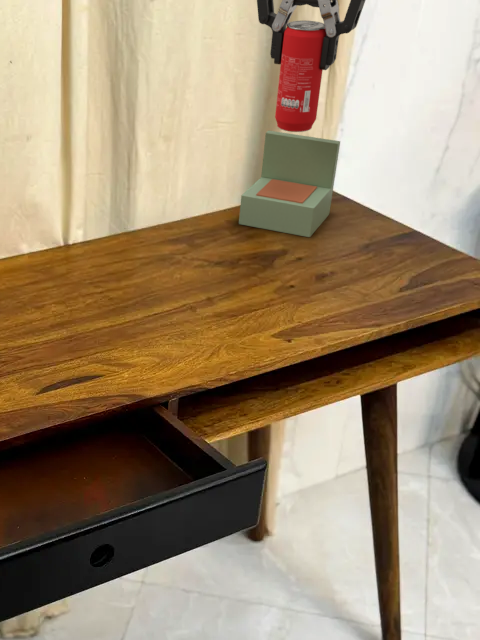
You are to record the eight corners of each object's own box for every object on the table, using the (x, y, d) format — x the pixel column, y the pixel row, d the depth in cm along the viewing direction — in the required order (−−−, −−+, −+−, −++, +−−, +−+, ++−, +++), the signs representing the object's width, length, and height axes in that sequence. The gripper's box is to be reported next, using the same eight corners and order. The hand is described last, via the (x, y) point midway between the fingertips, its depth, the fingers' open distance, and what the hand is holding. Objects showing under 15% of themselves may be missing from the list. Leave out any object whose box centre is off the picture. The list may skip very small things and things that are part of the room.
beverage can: (265, 125, 127) (276, 24, 119) (293, 118, 129) (304, 18, 122) (295, 135, 124) (308, 31, 116) (323, 127, 126) (337, 25, 119)
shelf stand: (329, 214, 136) (340, 141, 130) (309, 237, 130) (320, 161, 124) (260, 202, 140) (268, 130, 134) (238, 224, 134) (245, 149, 128)
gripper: (249, -94, 111) (236, 66, 122) (375, -86, 106) (350, 80, 117) (271, -101, 117) (257, 52, 127) (392, -94, 112) (367, 65, 122)
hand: (302, 65), depth 122 cm, fingers closed on beverage can, 5 cm apart
